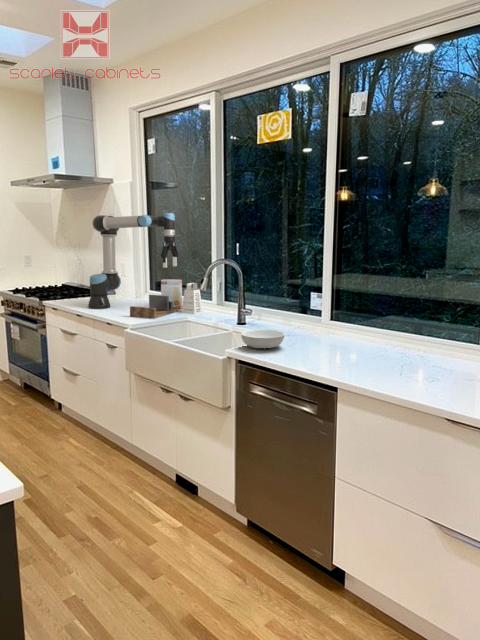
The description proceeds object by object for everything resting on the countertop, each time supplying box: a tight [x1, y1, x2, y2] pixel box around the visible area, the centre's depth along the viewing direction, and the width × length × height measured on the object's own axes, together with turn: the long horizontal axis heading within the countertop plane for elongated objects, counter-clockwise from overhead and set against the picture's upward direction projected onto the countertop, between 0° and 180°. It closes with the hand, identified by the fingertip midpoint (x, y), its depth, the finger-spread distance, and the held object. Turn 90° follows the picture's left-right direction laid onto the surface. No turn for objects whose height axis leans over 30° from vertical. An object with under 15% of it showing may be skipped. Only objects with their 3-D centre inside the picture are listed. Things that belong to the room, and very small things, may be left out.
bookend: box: [148, 294, 173, 311], centre depth 322 cm, size 14×10×10 cm
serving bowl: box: [240, 328, 285, 350], centre depth 228 cm, size 21×21×7 cm
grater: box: [181, 282, 204, 315], centre depth 320 cm, size 10×10×20 cm
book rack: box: [129, 305, 179, 320], centre depth 314 cm, size 18×31×6 cm, turn 159°
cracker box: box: [160, 278, 183, 310], centre depth 334 cm, size 14×6×21 cm, turn 84°
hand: (169, 266), depth 330 cm, fingers open, 13 cm apart
